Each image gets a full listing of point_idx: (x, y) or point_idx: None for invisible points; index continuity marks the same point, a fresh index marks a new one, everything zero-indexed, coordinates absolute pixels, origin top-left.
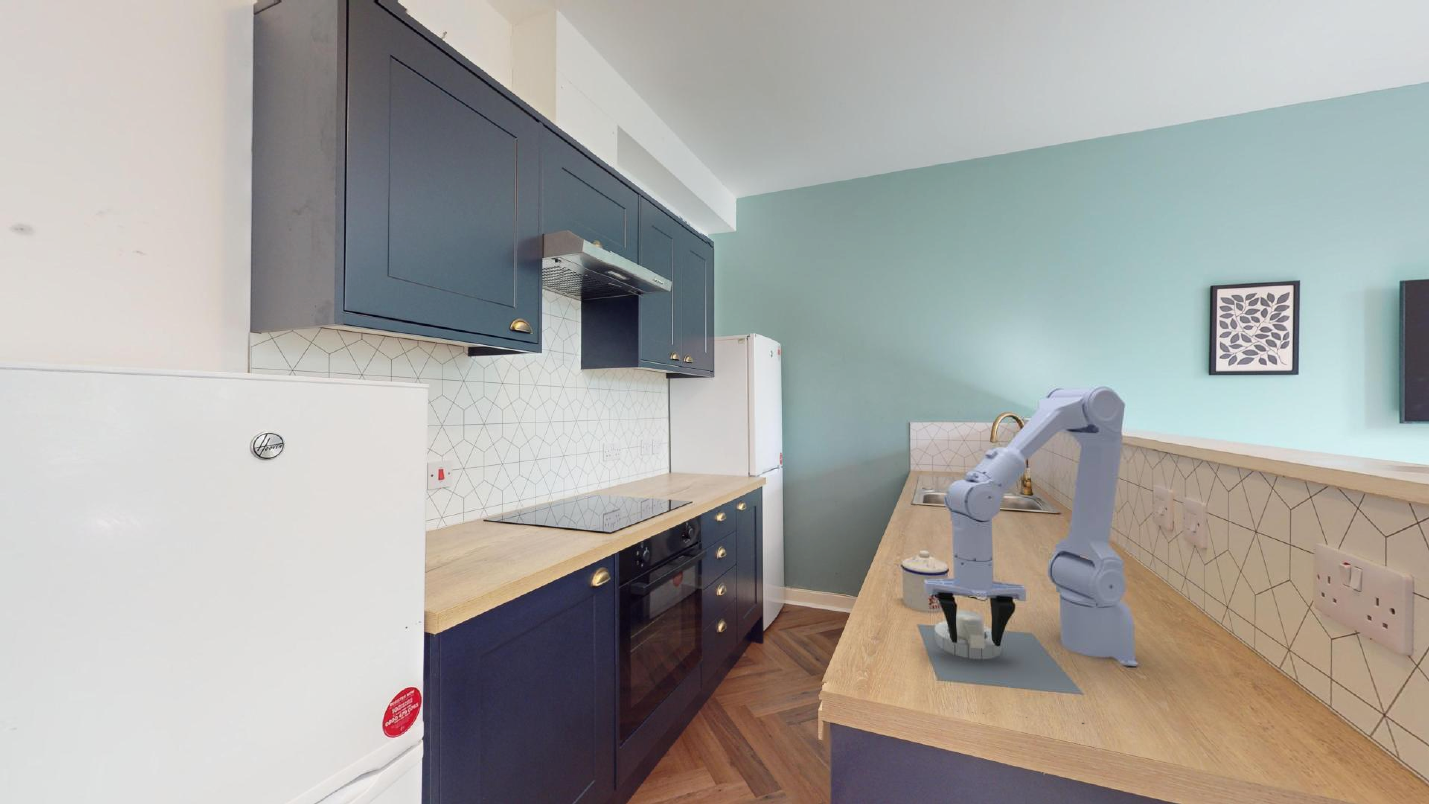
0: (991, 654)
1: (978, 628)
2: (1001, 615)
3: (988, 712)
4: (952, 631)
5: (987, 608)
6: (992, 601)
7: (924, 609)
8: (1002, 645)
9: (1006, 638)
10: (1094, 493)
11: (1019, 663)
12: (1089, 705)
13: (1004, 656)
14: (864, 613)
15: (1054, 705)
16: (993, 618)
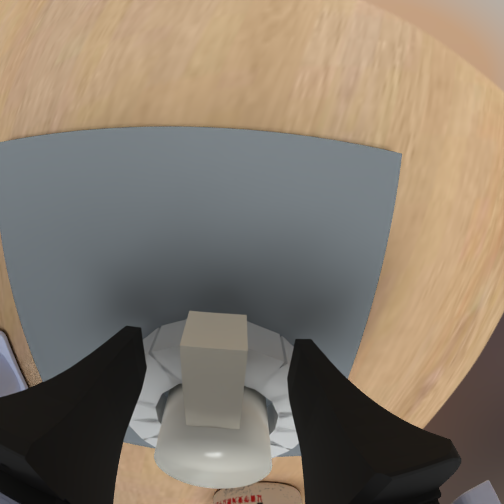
0: (162, 332)
1: (189, 404)
2: (54, 408)
3: (281, 19)
4: (328, 364)
5: (140, 492)
6: (96, 501)
7: (271, 493)
8: None
9: None
10: None
11: (91, 298)
12: (4, 128)
13: None
14: None
15: (70, 96)
16: (114, 431)
